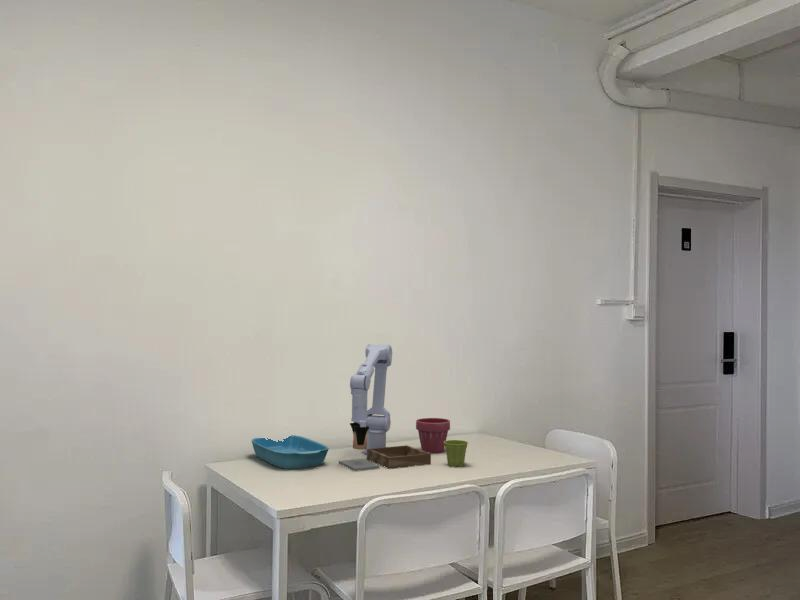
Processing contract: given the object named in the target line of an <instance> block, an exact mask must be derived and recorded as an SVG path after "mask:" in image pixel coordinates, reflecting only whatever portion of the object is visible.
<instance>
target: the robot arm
mask: <svg viewBox="0 0 800 600" xmlns="http://www.w3.org/2000/svg"><path fill="white" fill-rule="evenodd" d="M392 348H393V347H392V346H391V345H390V344H370V343H368V344H367V345H366V347H365V351H364V352H365V358H366V359H365V360H364V361H365V362H363V363H361V364H360V365H359V366H358V367H359V368H358V369H357V371H356V372H355V374H353V375H352V376H351V377H350V380H349V388H350V394H351V418H350V420H351V422H350V423H349V425H350V427H351V430H352V435H354V431H355V432H356V437H357V444H358V445H364V441H365V436H366V433H367V432H368V435H367V449H373V448H384V447H387V433H388V432H389V430H390V428H391V423H392V422H391V413H390V412H389V410H387V409H386V408H385V398H386V397H385V396H386V387H387V386H386V383H387V371H388V367H390V366H392V361H393V349H392ZM373 375H374V376H373ZM372 376H373V377H374V380H373V393H372V402H371V403H372V405H371V407H370V408H369V409H368V393H369V392H368V391H369V390H370V387H371V382H372V379H371V378H372ZM367 449H364V450H362V451H361V453H363V454H366V455H367Z"/></svg>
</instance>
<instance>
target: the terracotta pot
mask: <svg viewBox="0 0 800 600" xmlns="http://www.w3.org/2000/svg"><path fill="white" fill-rule="evenodd" d="M352 435H353V434H352ZM367 435H368V432H367V433H366V436H365V441H364V445H358V444H357V437H356V432H355V431H354V435H353V436H352V437H353V439H352V449H354V450H360V451H361V450H362V451H364V449H367Z"/></svg>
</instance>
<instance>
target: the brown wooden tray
mask: <svg viewBox="0 0 800 600" xmlns="http://www.w3.org/2000/svg"><path fill="white" fill-rule="evenodd" d="M431 456H432V453H428V452H425V451H422V449H419V448H415V447H413V446H410V445H397V446H396V445H395V446H386V447H384V448H373V449H367V454H366V460H367V459H368V460H367V461H370V460H371V461H370V462H372V461H373V462H372V463H374V462H375V463H374V464H377V463H378V464H377V465H379V464H380V465H379V466H381V465H383V466H382V467H384V466H385V467H384V468H386V467H387V468H386V469H388V468H392V469H399V468H398V467H401V468H406V467H405V466H410V467H416V466H415V465H419V466H425V465H424V464H428V465H431V463H432V459H431V458H432V457H431Z"/></svg>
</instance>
